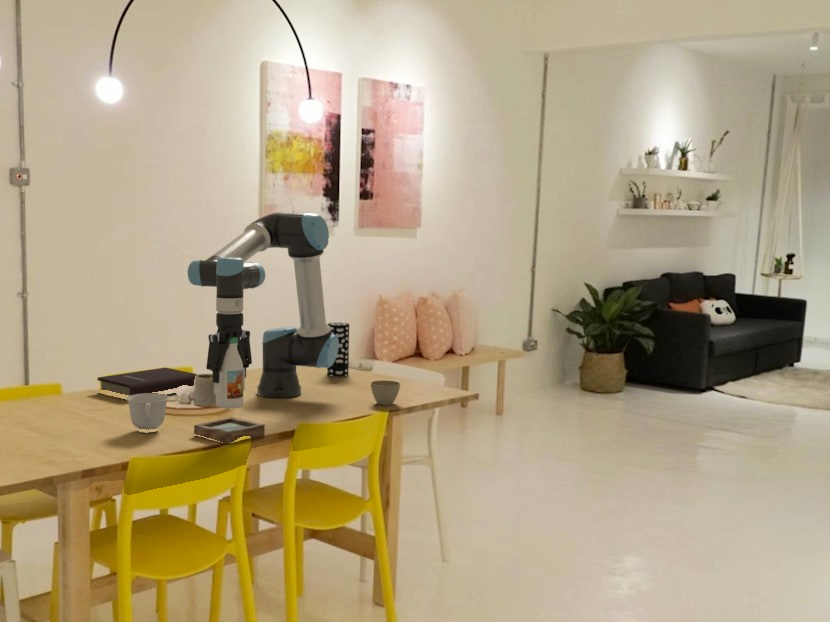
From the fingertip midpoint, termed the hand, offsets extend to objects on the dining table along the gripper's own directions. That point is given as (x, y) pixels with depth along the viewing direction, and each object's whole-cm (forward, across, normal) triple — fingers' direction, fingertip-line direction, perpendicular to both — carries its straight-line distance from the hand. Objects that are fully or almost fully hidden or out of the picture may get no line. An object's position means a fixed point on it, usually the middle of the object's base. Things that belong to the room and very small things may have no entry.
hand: (229, 391), depth 267 cm
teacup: (+13, -13, +20) cm, 27 cm away
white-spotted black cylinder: (+13, +92, +40) cm, 101 cm away
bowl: (+13, +64, -6) cm, 66 cm away
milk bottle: (+4, 0, 0) cm, 4 cm away
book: (+13, +23, +66) cm, 71 cm away
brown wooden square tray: (+13, 0, 0) cm, 13 cm away
